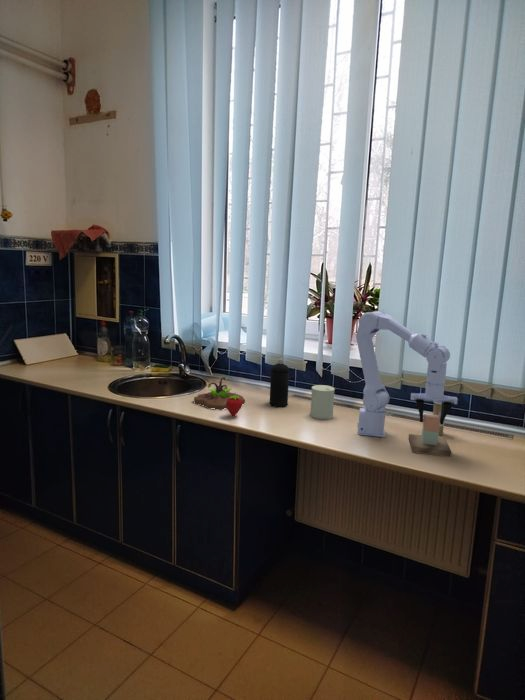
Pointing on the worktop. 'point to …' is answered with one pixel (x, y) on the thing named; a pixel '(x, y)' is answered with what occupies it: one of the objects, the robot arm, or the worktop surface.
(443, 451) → the walnut base
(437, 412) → the sprinkles bottle
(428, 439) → the sage cube
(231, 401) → the strawberry
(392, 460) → the worktop surface
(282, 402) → the aerosol can
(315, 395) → the can
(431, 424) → the terracotta cube
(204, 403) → the plant
